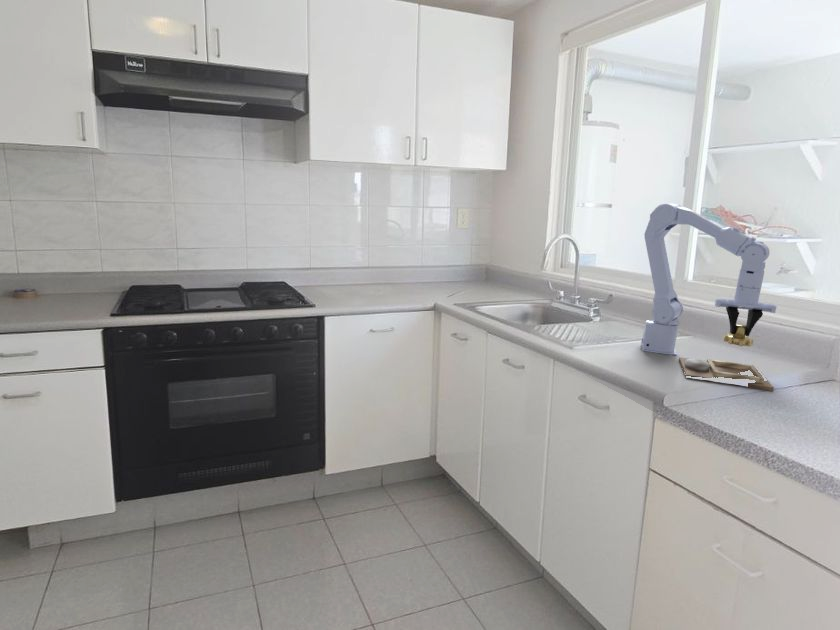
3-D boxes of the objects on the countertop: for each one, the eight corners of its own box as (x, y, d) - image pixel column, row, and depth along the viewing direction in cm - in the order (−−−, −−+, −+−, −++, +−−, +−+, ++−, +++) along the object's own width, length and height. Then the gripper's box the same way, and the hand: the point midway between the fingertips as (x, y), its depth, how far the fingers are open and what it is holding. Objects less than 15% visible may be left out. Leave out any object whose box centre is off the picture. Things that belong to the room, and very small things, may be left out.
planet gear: (725, 344, 152) (729, 326, 151) (720, 337, 158) (724, 320, 157) (755, 347, 150) (758, 330, 148) (748, 340, 156) (752, 324, 155)
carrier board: (685, 378, 144) (687, 369, 143) (678, 360, 158) (680, 352, 158) (772, 391, 138) (774, 381, 137) (757, 371, 152) (758, 362, 152)
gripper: (722, 286, 149) (713, 334, 152) (783, 292, 144) (772, 341, 148) (717, 282, 155) (708, 328, 158) (775, 287, 151) (765, 335, 154)
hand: (739, 334), depth 153 cm, fingers closed on planet gear, 3 cm apart
